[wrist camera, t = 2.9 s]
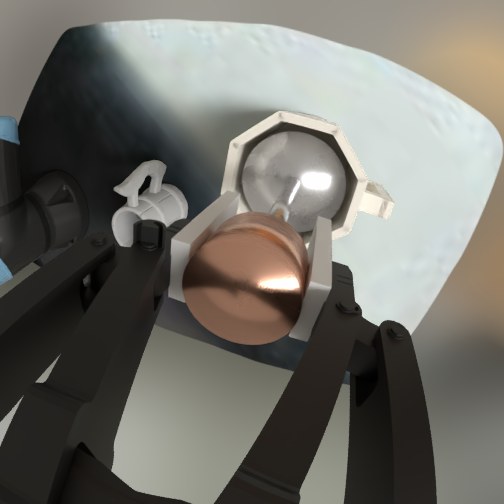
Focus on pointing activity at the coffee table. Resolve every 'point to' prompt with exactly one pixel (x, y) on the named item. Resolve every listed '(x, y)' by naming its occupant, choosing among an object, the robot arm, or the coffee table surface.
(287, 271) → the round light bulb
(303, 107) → the coffee table surface
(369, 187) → the octagonal white cup
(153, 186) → the mug
